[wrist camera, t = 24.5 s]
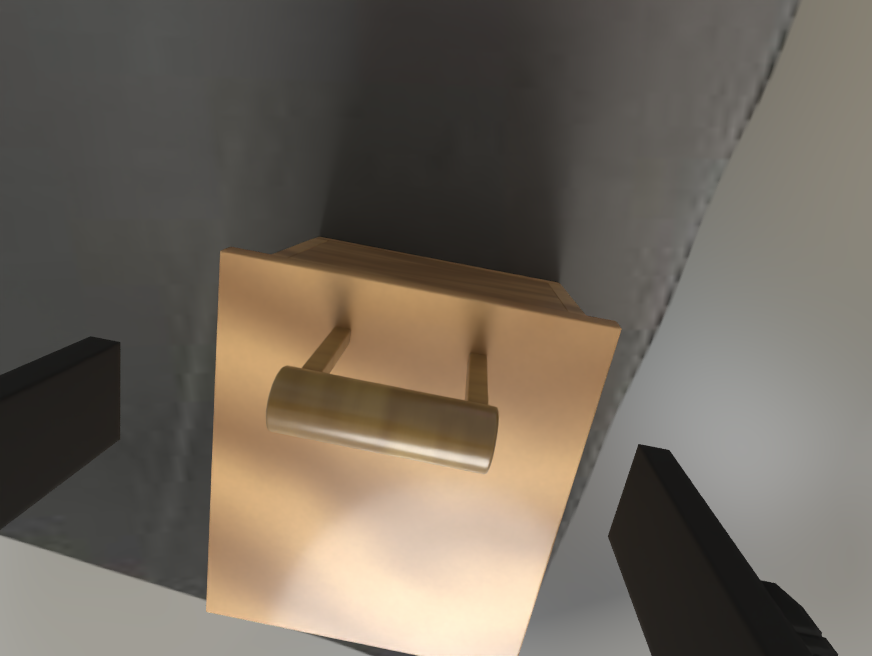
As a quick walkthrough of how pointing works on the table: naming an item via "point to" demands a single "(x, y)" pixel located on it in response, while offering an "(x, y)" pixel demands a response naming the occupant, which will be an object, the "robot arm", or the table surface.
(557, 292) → the chest
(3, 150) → the table surface
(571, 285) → the table surface
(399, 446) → the lid
